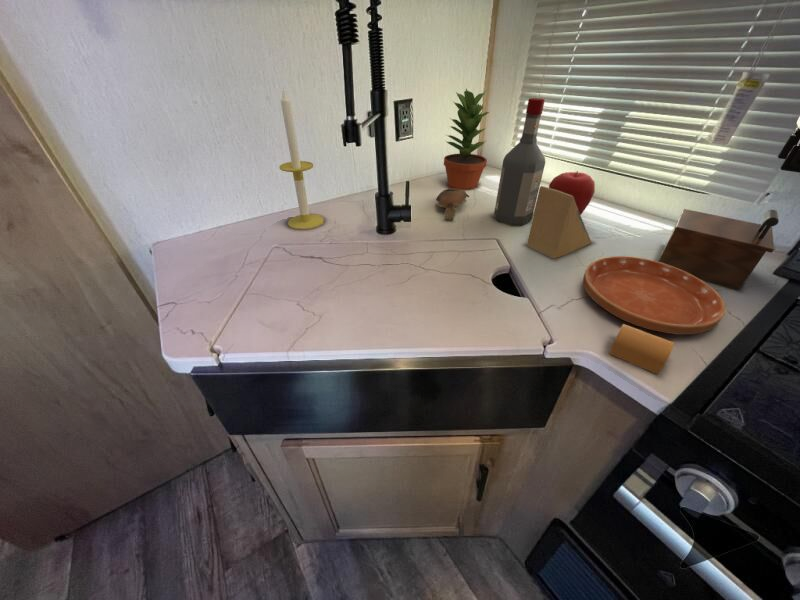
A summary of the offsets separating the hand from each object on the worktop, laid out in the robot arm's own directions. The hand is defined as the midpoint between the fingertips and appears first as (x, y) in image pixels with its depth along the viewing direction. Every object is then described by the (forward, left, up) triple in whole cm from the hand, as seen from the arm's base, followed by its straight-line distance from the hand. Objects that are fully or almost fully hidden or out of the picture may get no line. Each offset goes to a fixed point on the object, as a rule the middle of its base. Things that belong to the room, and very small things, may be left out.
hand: (789, 164), depth 64 cm
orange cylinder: (+9, +41, -23) cm, 48 cm away
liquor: (+48, +3, -23) cm, 53 cm away
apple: (+37, -7, -23) cm, 44 cm away
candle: (+92, +42, -23) cm, 104 cm away
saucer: (+11, +24, -23) cm, 35 cm away
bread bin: (+4, +1, -23) cm, 23 cm away
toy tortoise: (+66, +7, -23) cm, 70 cm away
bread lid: (+4, +1, -14) cm, 14 cm away
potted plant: (+75, -14, -23) cm, 80 cm away
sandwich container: (+32, +10, -23) cm, 41 cm away
